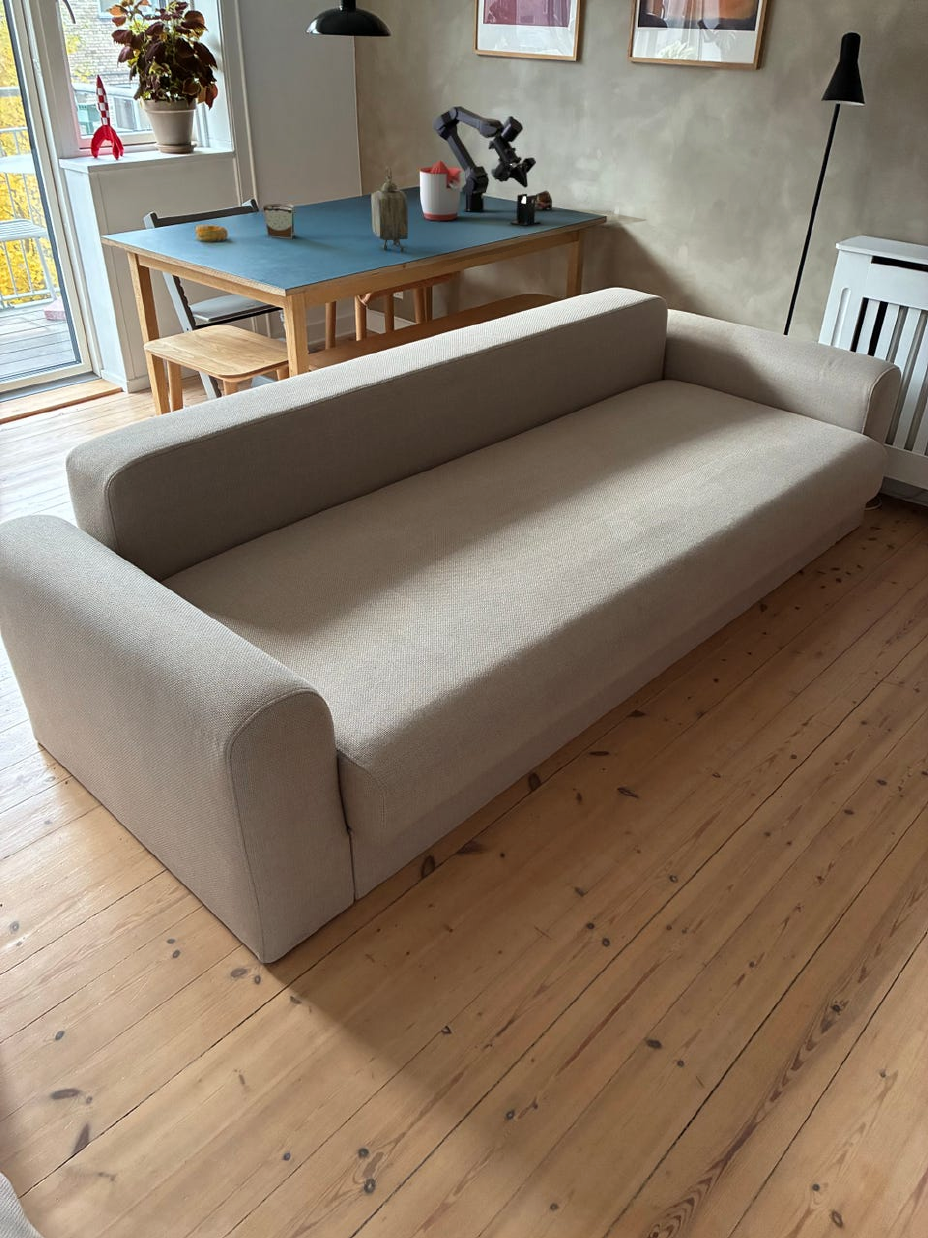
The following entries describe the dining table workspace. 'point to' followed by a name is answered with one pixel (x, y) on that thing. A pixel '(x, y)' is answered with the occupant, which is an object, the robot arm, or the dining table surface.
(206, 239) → the bagel
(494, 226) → the dining table surface
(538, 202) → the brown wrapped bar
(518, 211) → the bracket
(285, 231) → the food container
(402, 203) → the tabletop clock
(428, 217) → the citrus juicer
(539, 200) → the mechanical counter
